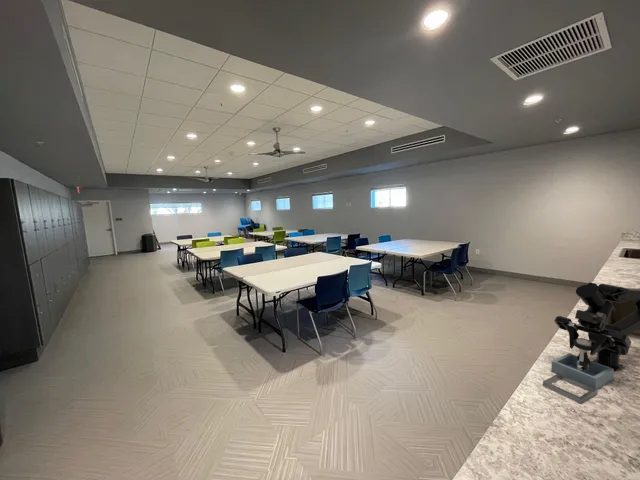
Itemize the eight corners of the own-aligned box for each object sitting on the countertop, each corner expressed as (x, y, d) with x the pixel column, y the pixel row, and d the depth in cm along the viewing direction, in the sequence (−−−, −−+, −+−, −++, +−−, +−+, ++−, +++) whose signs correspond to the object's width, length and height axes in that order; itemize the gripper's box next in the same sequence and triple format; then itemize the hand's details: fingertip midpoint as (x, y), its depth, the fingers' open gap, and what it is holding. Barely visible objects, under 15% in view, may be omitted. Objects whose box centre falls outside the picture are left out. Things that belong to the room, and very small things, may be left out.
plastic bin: (568, 363, 102) (569, 353, 102) (613, 380, 91) (613, 368, 91) (551, 371, 97) (551, 361, 97) (595, 390, 87) (596, 378, 86)
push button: (588, 375, 90) (590, 346, 89) (568, 367, 95) (569, 340, 94) (596, 368, 94) (597, 341, 93) (575, 361, 98) (577, 335, 97)
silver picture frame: (559, 377, 94) (559, 373, 94) (597, 393, 85) (597, 389, 85) (542, 385, 90) (542, 381, 90) (581, 404, 81) (581, 399, 81)
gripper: (557, 295, 102) (540, 329, 99) (629, 309, 85) (611, 351, 82) (568, 311, 106) (551, 344, 103) (638, 328, 89) (621, 368, 86)
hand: (580, 351), depth 93 cm, fingers closed on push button, 5 cm apart
